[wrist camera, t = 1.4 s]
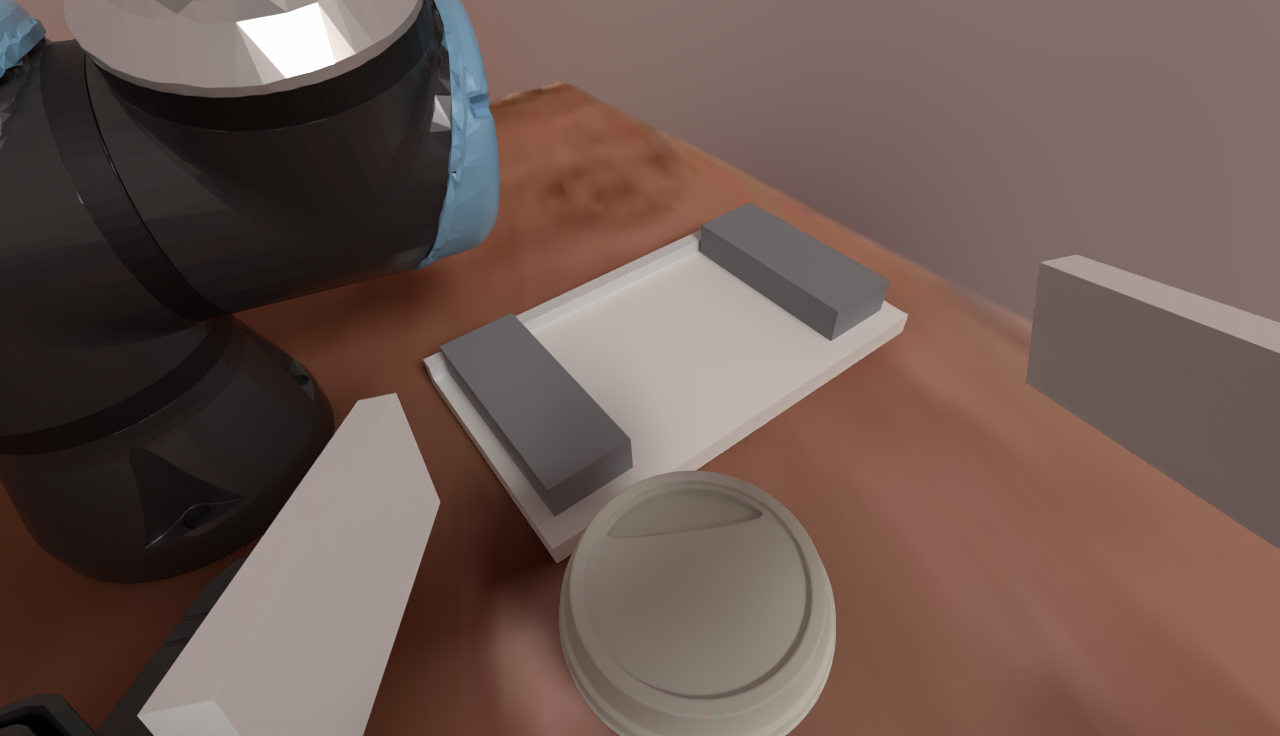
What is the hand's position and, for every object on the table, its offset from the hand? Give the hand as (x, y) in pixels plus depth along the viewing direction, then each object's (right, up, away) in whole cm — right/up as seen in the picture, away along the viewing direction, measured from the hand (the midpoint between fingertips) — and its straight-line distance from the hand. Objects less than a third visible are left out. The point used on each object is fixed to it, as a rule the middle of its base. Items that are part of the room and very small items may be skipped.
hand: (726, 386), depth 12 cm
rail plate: (0, +1, +29) cm, 28 cm away
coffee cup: (0, -14, +14) cm, 20 cm away
